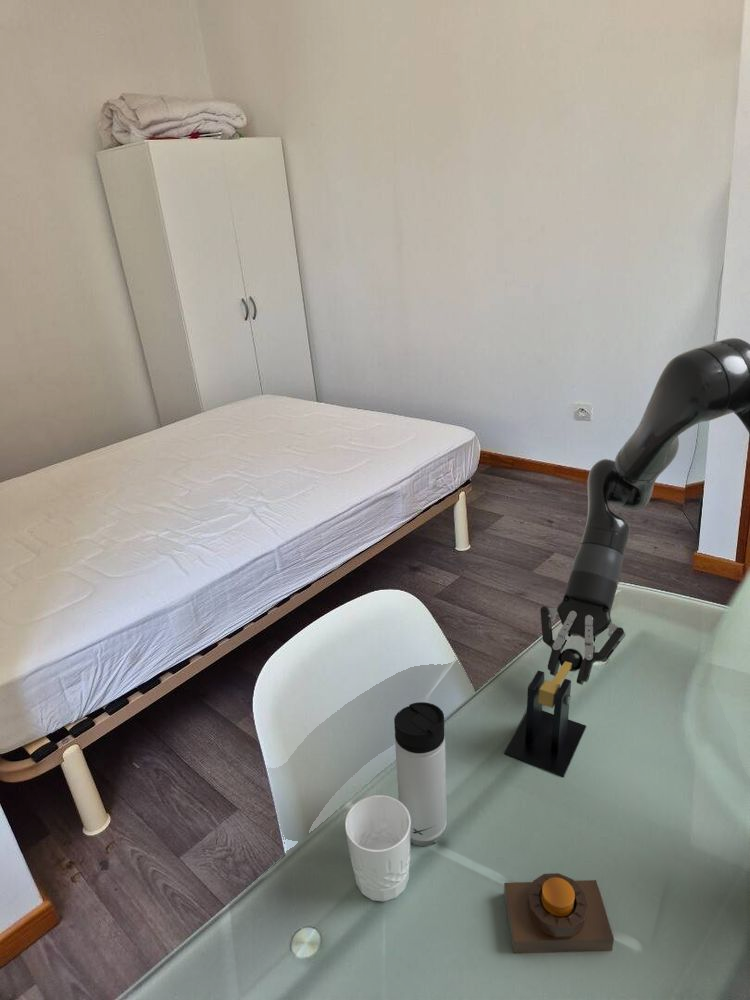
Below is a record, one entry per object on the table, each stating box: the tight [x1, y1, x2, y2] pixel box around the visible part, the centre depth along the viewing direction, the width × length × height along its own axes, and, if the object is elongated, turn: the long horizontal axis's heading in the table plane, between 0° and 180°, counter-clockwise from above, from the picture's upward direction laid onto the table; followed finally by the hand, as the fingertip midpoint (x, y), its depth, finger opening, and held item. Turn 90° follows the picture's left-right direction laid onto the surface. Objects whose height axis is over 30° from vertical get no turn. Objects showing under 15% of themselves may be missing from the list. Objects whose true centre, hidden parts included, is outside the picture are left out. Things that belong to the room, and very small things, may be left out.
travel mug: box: [393, 701, 448, 847], centre depth 88 cm, size 6×7×20 cm
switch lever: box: [538, 647, 584, 709], centre depth 104 cm, size 14×4×4 cm, turn 149°
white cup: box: [344, 794, 412, 903], centre depth 84 cm, size 8×8×10 cm
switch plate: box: [503, 872, 615, 954], centre depth 79 cm, size 11×7×4 cm, turn 89°
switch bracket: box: [503, 670, 587, 778], centre depth 102 cm, size 11×9×12 cm
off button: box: [541, 878, 575, 917], centre depth 78 cm, size 4×4×2 cm
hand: (566, 678), depth 108 cm, fingers closed on switch lever, 3 cm apart
